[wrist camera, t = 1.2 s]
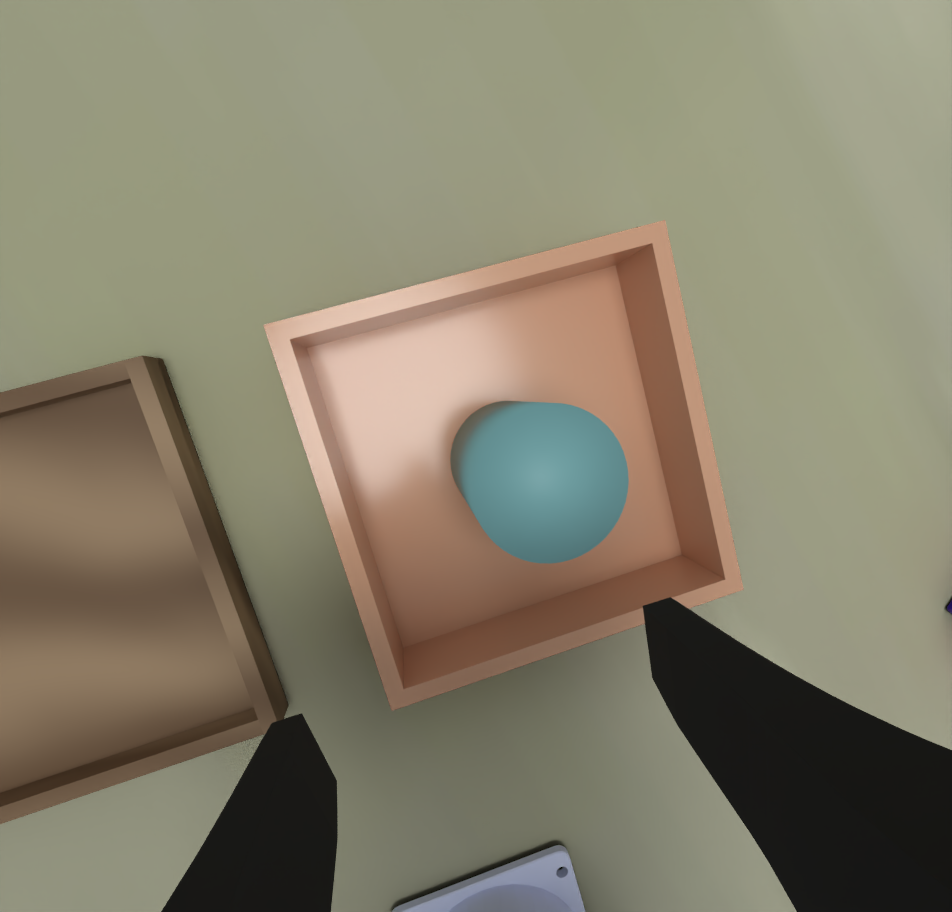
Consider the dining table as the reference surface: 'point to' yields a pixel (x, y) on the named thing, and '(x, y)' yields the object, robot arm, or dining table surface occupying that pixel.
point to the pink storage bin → (479, 384)
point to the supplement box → (950, 607)
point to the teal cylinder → (540, 478)
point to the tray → (115, 593)
